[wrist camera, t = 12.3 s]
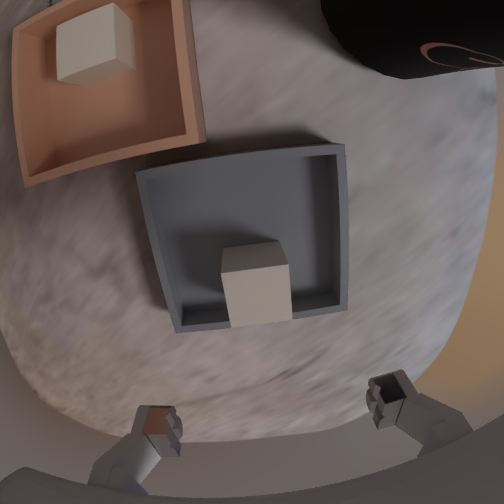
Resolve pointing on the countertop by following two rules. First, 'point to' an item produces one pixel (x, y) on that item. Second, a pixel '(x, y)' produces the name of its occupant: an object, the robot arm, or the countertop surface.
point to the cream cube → (95, 46)
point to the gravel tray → (248, 226)
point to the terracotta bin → (105, 92)
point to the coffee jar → (419, 34)
